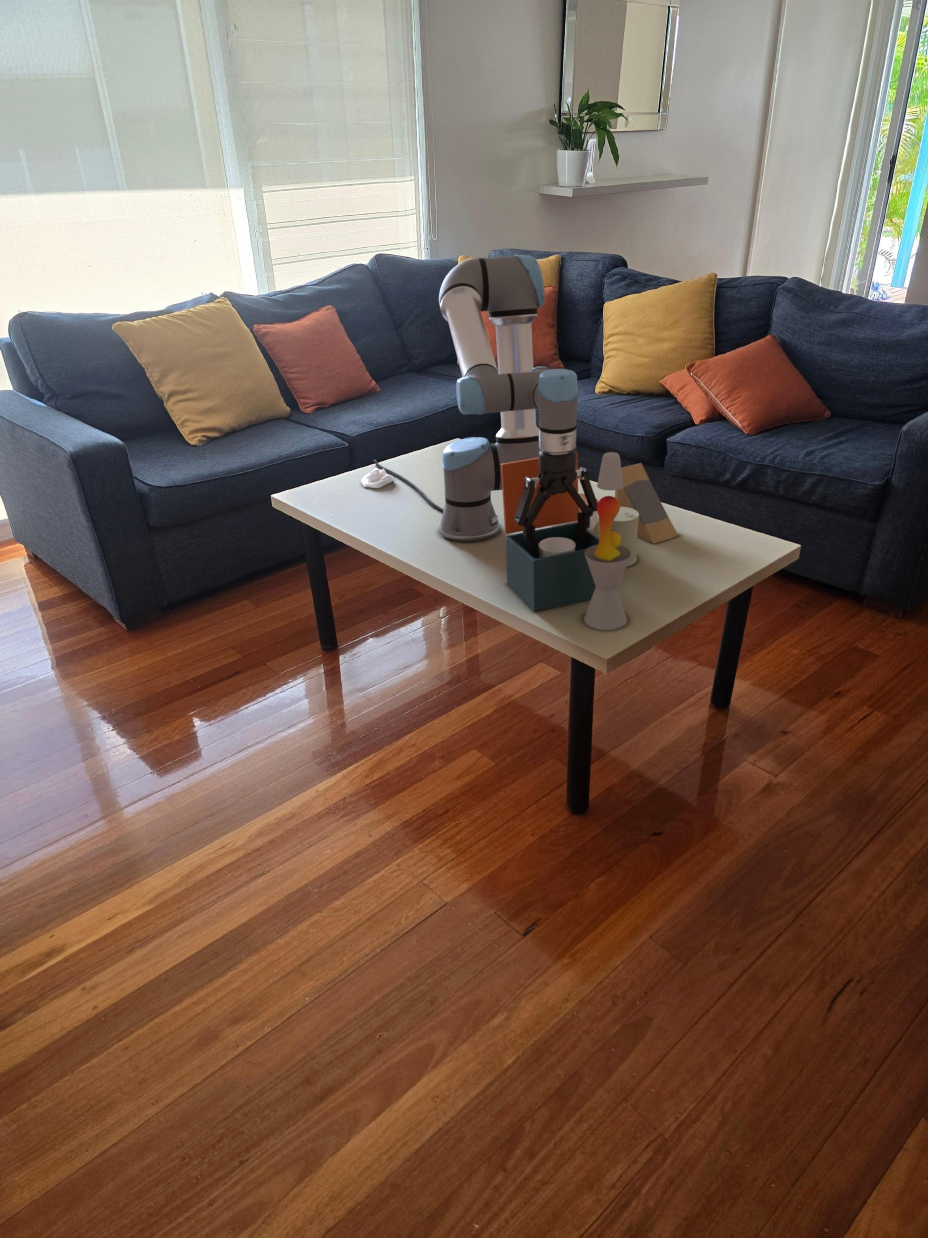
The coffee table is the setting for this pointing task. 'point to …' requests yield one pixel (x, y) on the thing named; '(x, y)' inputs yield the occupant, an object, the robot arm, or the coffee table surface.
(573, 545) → the white cup
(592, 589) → the container
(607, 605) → the lava lamp
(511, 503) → the lid
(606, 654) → the coffee table surface
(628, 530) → the can
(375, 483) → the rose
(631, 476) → the sandwich container
